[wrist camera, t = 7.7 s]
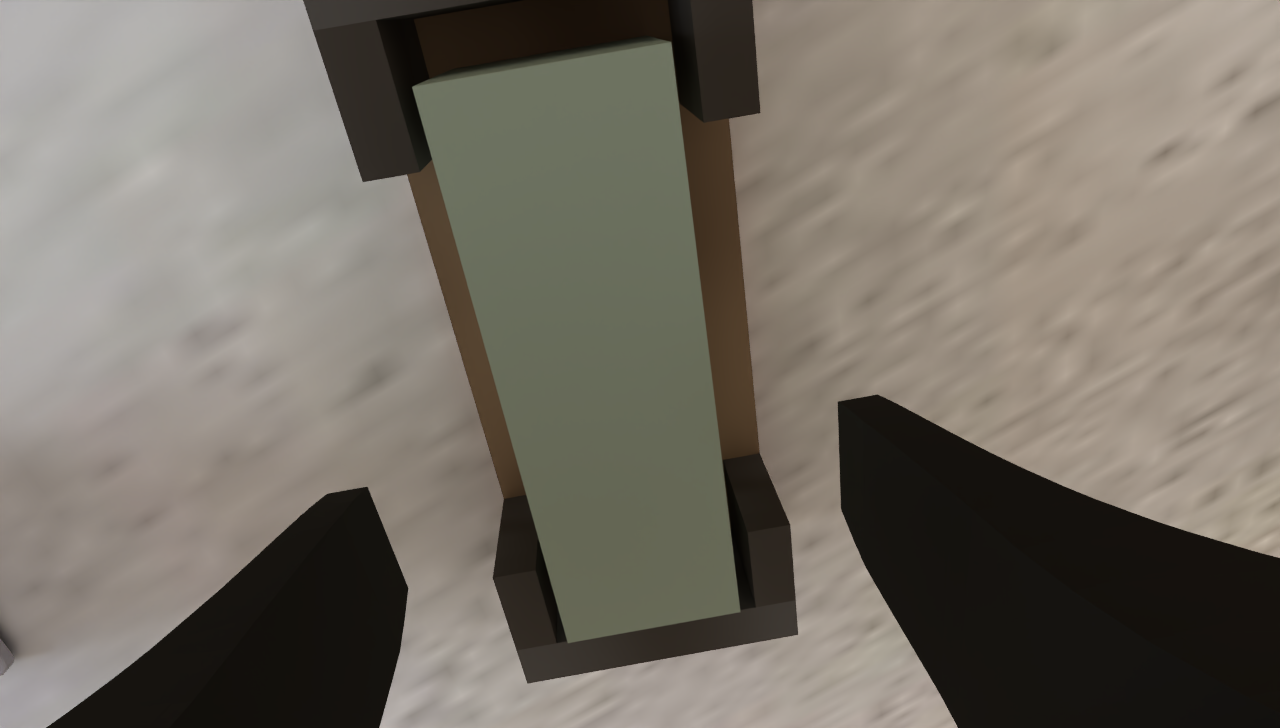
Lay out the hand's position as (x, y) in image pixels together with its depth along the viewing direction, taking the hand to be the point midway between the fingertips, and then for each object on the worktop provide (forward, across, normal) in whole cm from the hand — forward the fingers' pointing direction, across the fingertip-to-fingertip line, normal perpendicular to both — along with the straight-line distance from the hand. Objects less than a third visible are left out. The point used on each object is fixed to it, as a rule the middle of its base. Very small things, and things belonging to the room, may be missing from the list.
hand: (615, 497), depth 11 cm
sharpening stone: (+7, 0, 0) cm, 7 cm away
